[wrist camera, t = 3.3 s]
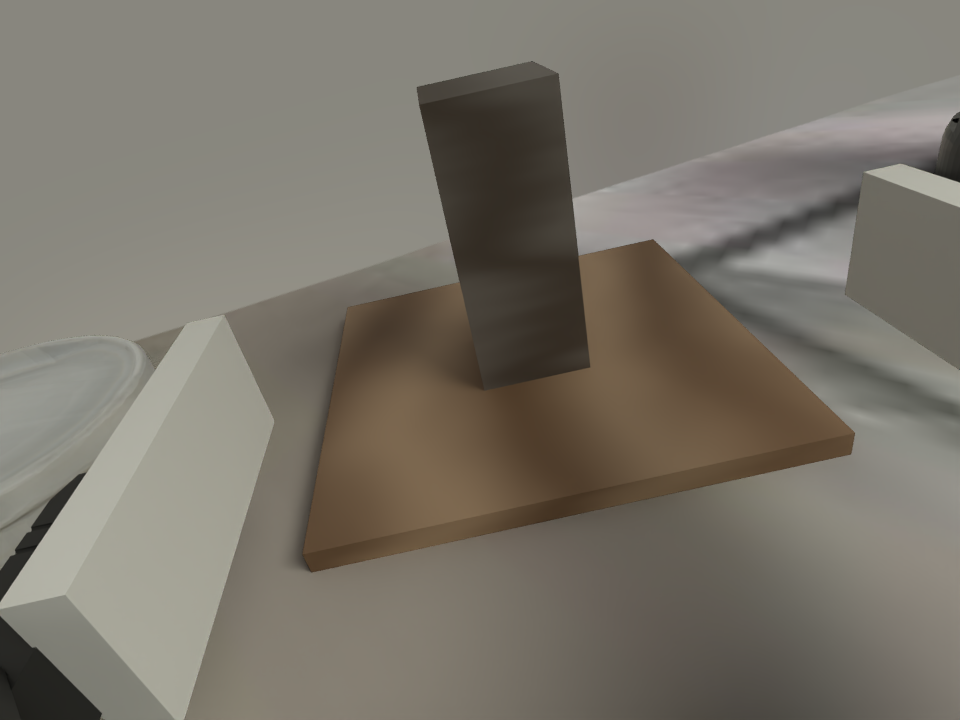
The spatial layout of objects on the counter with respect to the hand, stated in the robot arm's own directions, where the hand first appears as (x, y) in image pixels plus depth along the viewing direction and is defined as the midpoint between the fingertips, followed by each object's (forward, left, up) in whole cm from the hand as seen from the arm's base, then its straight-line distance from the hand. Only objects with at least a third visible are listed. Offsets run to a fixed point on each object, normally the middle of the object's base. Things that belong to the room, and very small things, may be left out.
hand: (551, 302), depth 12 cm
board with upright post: (0, -9, -8) cm, 12 cm away
